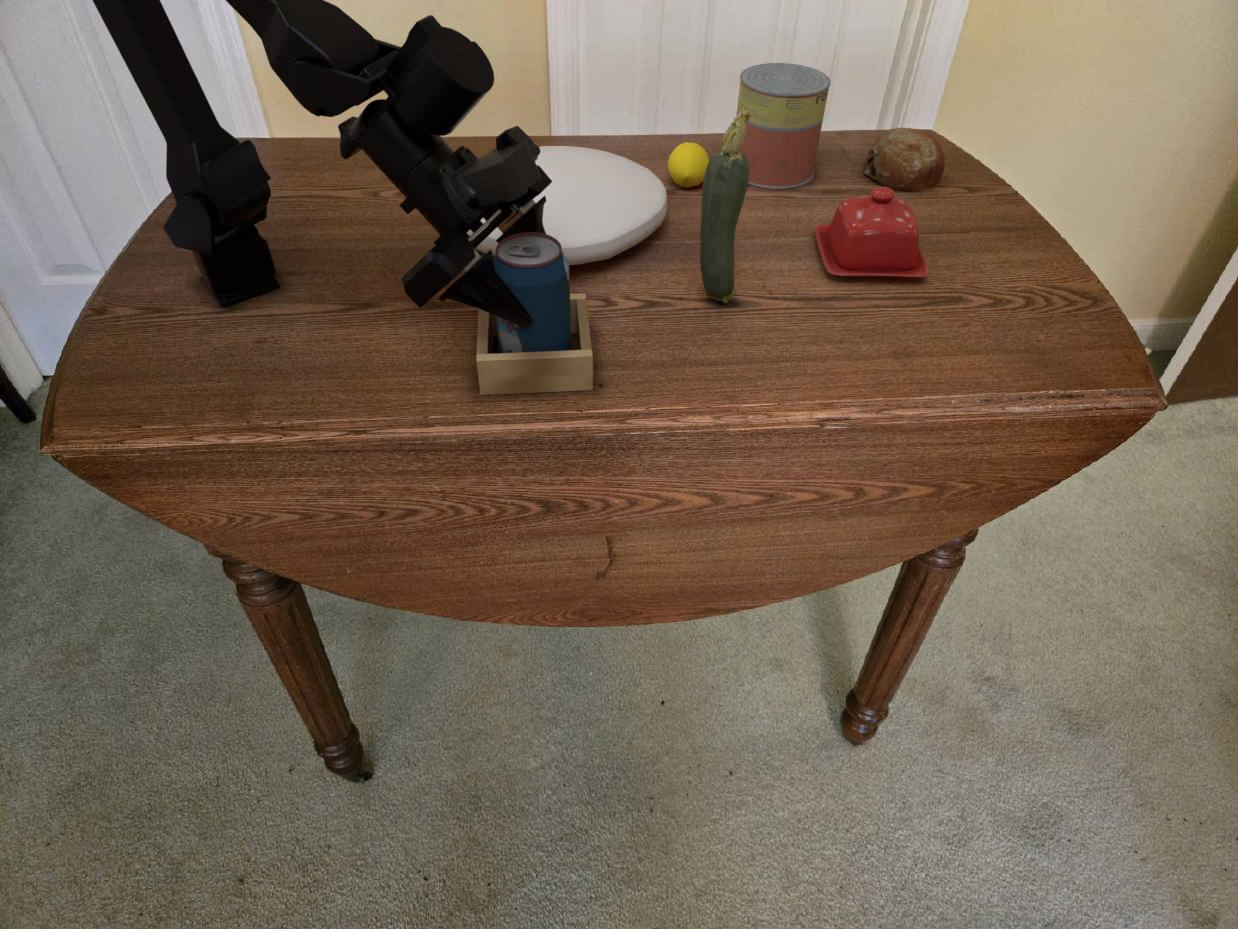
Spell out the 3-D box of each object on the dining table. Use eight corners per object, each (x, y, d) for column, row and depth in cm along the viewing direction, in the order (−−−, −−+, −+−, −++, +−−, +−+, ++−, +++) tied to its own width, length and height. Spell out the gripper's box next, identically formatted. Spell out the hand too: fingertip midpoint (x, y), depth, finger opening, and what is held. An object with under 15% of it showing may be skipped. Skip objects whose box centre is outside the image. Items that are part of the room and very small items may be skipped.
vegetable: (700, 313, 86) (719, 120, 72) (686, 292, 89) (702, 102, 75) (739, 307, 86) (765, 115, 73) (725, 286, 89) (747, 98, 76)
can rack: (480, 395, 75) (475, 360, 72) (483, 331, 83) (479, 296, 80) (593, 390, 76) (592, 355, 73) (586, 326, 83) (585, 293, 81)
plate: (484, 128, 108) (684, 149, 104) (487, 178, 112) (679, 199, 108) (398, 201, 86) (647, 231, 82) (405, 260, 90) (643, 290, 86)
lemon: (707, 197, 105) (711, 156, 101) (665, 195, 105) (667, 154, 101) (707, 174, 110) (711, 133, 106) (667, 171, 110) (670, 131, 106)
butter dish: (824, 284, 90) (840, 212, 84) (810, 233, 98) (823, 164, 93) (929, 287, 90) (952, 215, 84) (905, 236, 98) (925, 167, 92)
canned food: (826, 184, 108) (845, 90, 100) (746, 192, 106) (758, 97, 98) (794, 150, 116) (809, 60, 108) (718, 156, 114) (728, 65, 106)
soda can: (576, 341, 82) (573, 231, 73) (566, 384, 77) (561, 271, 68) (508, 336, 82) (497, 226, 74) (493, 378, 77) (480, 265, 69)
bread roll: (856, 187, 116) (845, 139, 110) (922, 149, 115) (914, 98, 109) (893, 219, 109) (884, 169, 103) (963, 179, 108) (957, 126, 102)
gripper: (411, 153, 58) (559, 318, 63) (526, 70, 70) (641, 212, 75) (341, 233, 65) (478, 375, 70) (456, 145, 78) (566, 271, 83)
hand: (546, 304), depth 74 cm, fingers closed on soda can, 7 cm apart
